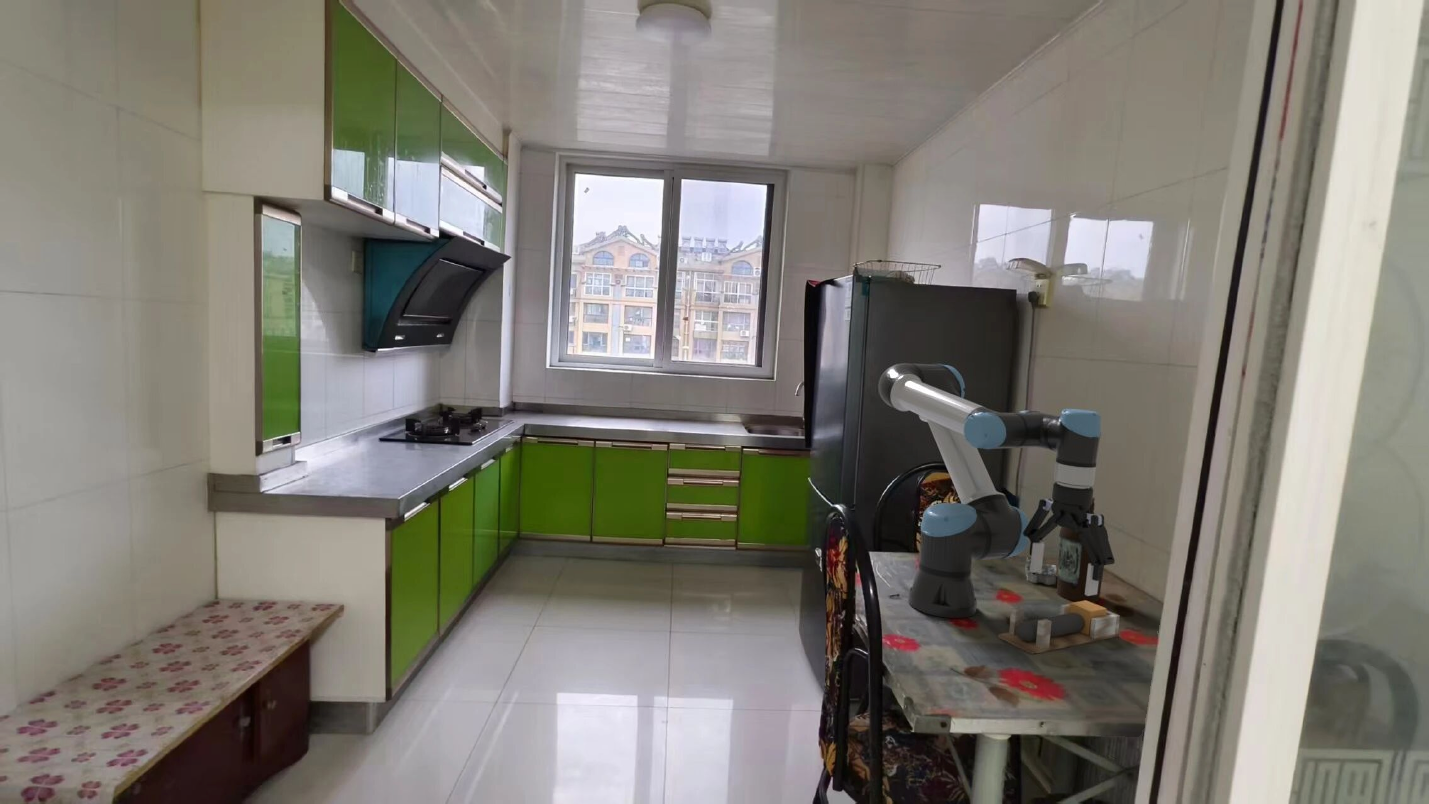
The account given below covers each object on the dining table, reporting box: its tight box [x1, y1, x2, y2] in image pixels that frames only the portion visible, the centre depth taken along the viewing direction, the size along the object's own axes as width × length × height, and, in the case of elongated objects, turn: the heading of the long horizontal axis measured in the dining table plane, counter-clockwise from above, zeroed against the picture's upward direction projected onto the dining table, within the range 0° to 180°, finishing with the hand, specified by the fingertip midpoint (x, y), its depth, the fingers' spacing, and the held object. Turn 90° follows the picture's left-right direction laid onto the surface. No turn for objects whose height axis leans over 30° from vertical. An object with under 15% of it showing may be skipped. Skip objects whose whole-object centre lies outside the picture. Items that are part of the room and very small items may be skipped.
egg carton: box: [1024, 556, 1058, 586], centre depth 191 cm, size 11×8×4 cm
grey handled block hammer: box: [1016, 600, 1108, 642], centre depth 152 cm, size 22×5×5 cm, turn 115°
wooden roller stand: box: [997, 603, 1120, 655], centre depth 153 cm, size 26×9×6 cm, turn 115°
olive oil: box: [1056, 496, 1109, 603], centre depth 177 cm, size 11×11×25 cm
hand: (1062, 582), depth 152 cm, fingers open, 13 cm apart
